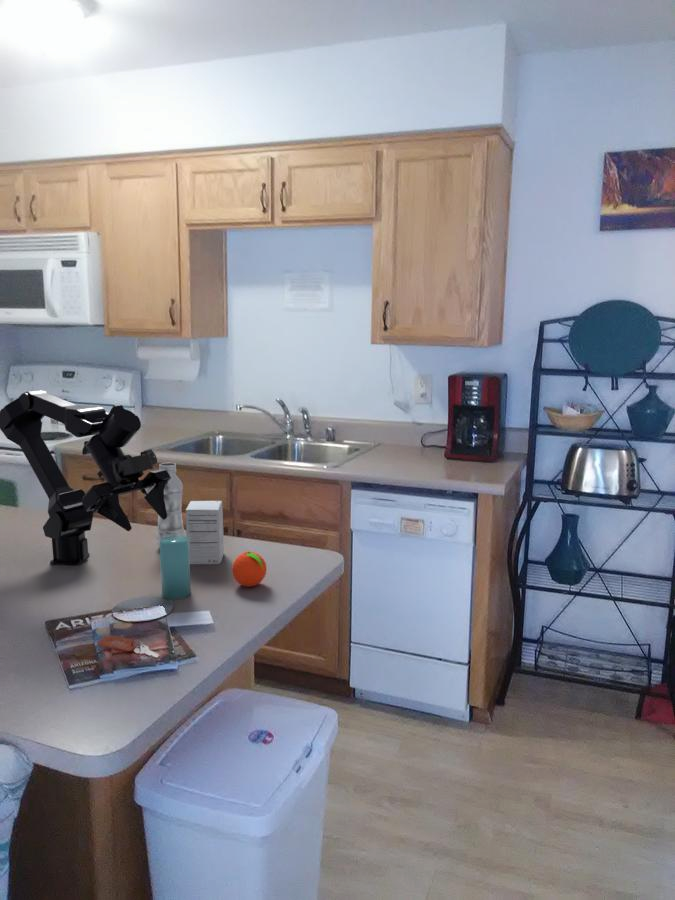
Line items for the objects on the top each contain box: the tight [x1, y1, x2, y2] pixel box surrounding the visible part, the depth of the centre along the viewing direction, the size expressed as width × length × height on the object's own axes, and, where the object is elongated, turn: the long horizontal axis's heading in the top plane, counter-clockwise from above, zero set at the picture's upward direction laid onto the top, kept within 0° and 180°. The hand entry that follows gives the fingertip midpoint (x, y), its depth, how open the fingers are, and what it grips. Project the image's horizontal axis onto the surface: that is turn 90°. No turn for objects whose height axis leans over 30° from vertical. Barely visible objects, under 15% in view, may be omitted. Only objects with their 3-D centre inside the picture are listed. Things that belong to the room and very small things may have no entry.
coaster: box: [111, 595, 174, 615], centre depth 133 cm, size 11×11×1 cm
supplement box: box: [185, 500, 225, 565], centre depth 159 cm, size 7×7×13 cm
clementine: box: [231, 551, 267, 588], centre depth 144 cm, size 8×7×7 cm
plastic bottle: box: [155, 462, 187, 546], centre depth 166 cm, size 6×7×20 cm
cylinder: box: [158, 536, 192, 600], centre depth 139 cm, size 6×6×11 cm
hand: (148, 524), depth 142 cm, fingers open, 9 cm apart
